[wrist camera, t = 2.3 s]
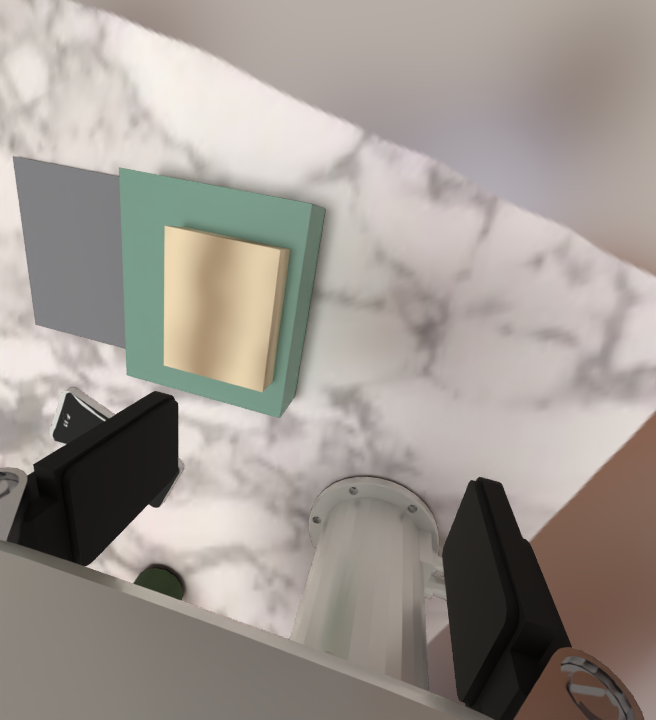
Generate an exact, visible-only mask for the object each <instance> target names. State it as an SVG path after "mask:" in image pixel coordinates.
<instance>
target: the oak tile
mask: <svg viewBox="0 0 656 720" xmlns="http://www.w3.org/2000/svg"><path fill="white" fill-rule="evenodd" d="M289 256H290V249H287V248H282V247H277V246H273V245H268V244H263V243H258V242H253V241H249V240H244V239H239V238H234V237H229V236H225V235H220V234H215V233H210V232H206V231H201V230H196V229H191V228H186V227H178V226H165V242H164V366H168V367H171V368H175V369H179V370H182V371H186V372H190V373H193V374H197V375H201V376H204V377H208V378H212V379H215V380H219V381H223V382H226V383H230V384H234V385H237V386H241V387H245V388H248V389H252V390H256V391H259V392H263V391H264V390H265V389H266V388H267V387H268V386H269V385H270V384H271V383H272V382H273V375H274V367H275V360H276V353H277V345H278V338H279V330H280V323H281V316H282V308H283V301H284V293H285V286H286V279H287V271H288V264H289Z"/></svg>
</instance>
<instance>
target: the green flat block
mask: <svg viewBox="0 0 656 720" xmlns="http://www.w3.org/2000/svg"><path fill="white" fill-rule="evenodd" d="M119 178H120V205H121V232H122V259H123V286H124V313H125V340H126V367H127V375H128V376H132V377H135V378H139V379H142V380H146V381H149V382H153V383H157V384H160V385H164V386H167V387H171V388H174V389H178V390H181V391H185V392H189V393H192V394H196V395H199V396H203V397H206V398H210V399H213V400H217V401H221V402H224V403H228V404H231V405H235V406H238V407H242V408H245V409H249V410H253V411H256V412H260V413H263V414H267V415H270V416H274V417H277V418H280V417H281V416H282V414H283V413H284V411H285V410H286V409H287V407H288V406H289V404H290V403H291V402H292V400H293V399H294V397H295V392H296V386H297V380H298V374H299V368H300V362H301V356H302V350H303V344H304V338H305V331H306V325H307V319H308V313H309V307H310V301H311V295H312V289H313V283H314V277H315V270H316V264H317V258H318V252H319V246H320V240H321V234H322V228H323V222H324V216H325V210H326V209H324V208H322V207H319V206H316V205H314V204H311V203H305V202H300V201H295V200H289V199H284V198H279V197H273V196H268V195H263V194H257V193H252V192H247V191H241V190H236V189H231V188H225V187H220V186H215V185H209V184H204V183H199V182H193V181H188V180H183V179H177V178H172V177H167V176H161V175H156V174H151V173H146V172H140V171H135V170H130V169H124V168H119ZM165 226H178V227H186V228H191V229H196V230H201V231H206V232H210V233H215V234H220V235H225V236H229V237H234V238H239V239H244V240H249V241H253V242H258V243H263V244H268V245H273V246H277V247H282V248H287V249H290V256H289V264H288V271H287V279H286V286H285V293H284V301H283V308H282V316H281V323H280V330H279V338H278V345H277V353H276V360H275V367H274V375H273V382H272V383H271V384H270V385H269V386H268V387H267V388H266V389H265V390H264V391H263V392H259V391H256V390H252V389H248V388H245V387H241V386H237V385H234V384H230V383H226V382H223V381H219V380H215V379H212V378H208V377H204V376H201V375H197V374H193V373H190V372H186V371H182V370H179V369H175V368H171V367H168V366H164V242H165Z"/></svg>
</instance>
